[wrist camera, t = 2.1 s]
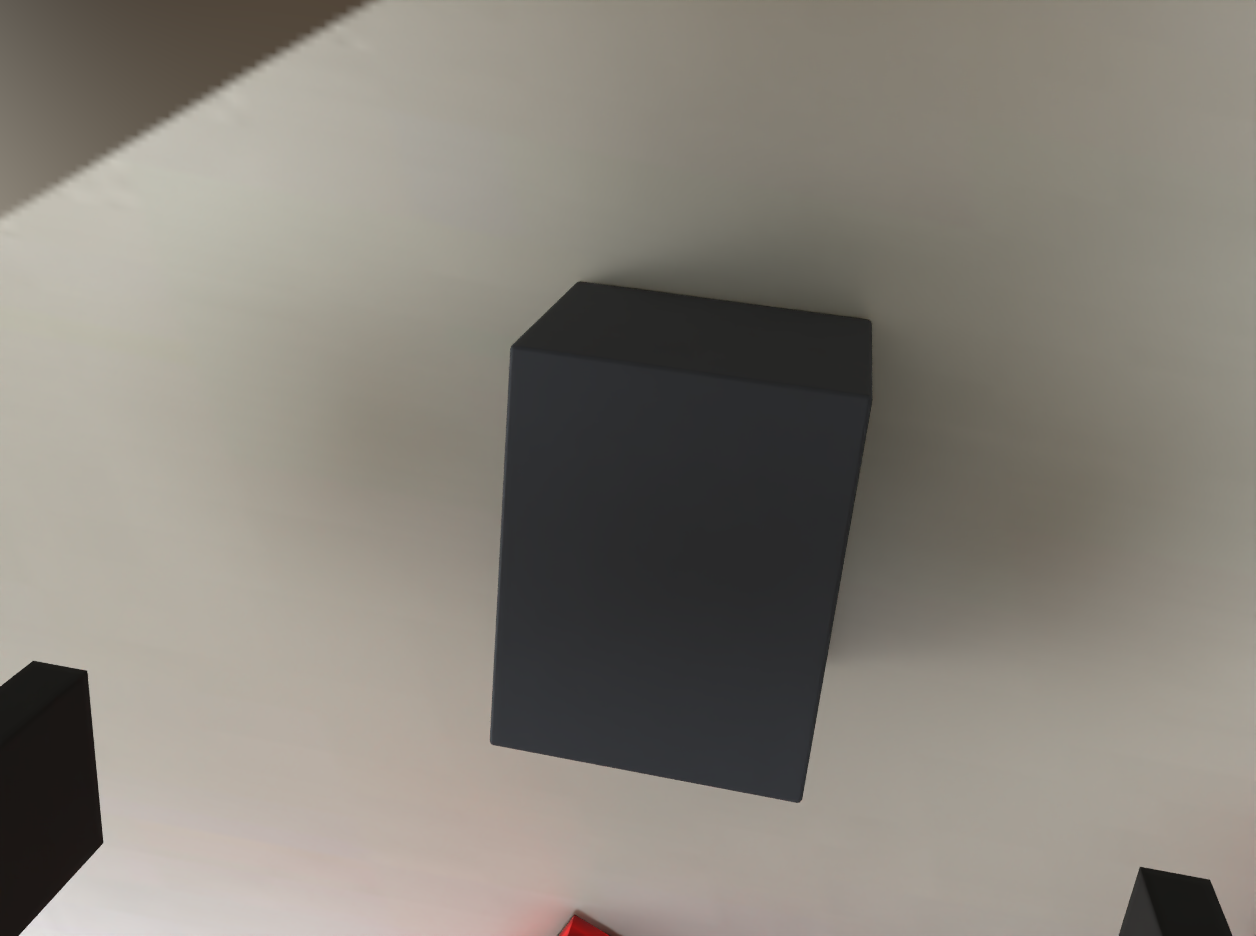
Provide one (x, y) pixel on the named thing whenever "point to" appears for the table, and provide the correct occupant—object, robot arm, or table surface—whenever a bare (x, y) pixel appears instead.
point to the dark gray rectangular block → (676, 533)
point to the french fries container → (581, 928)
